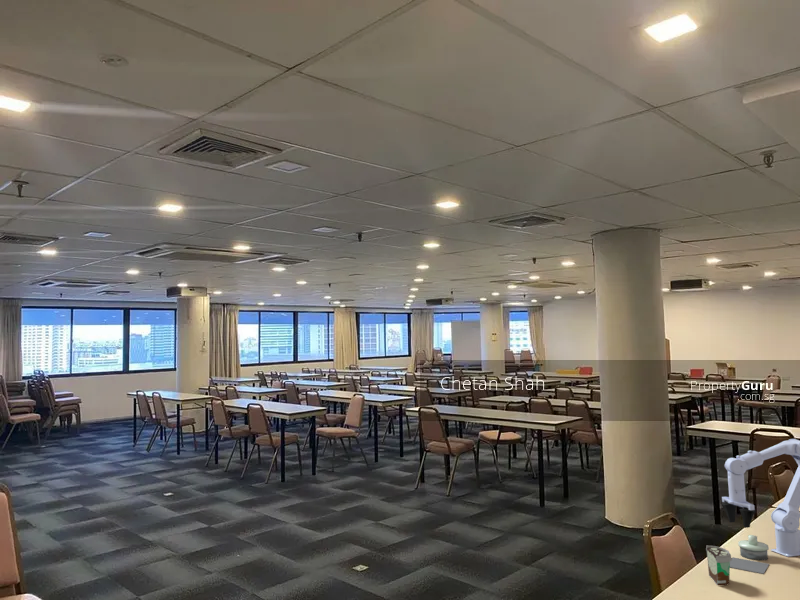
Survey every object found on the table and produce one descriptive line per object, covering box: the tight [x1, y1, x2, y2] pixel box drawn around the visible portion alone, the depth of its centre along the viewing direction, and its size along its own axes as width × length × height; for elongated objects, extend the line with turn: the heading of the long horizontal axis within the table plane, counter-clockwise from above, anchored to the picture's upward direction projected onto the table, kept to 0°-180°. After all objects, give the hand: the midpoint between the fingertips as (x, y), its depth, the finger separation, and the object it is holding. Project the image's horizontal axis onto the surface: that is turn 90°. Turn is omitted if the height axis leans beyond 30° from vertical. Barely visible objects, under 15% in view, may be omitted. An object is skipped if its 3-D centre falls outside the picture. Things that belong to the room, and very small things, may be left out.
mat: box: [730, 556, 770, 575], centre depth 217 cm, size 12×12×1 cm
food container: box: [705, 545, 732, 586], centre depth 203 cm, size 12×6×10 cm, turn 168°
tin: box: [739, 547, 769, 561], centre depth 227 cm, size 9×9×4 cm
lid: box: [737, 534, 769, 552], centre depth 227 cm, size 10×10×4 cm
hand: (739, 524), depth 233 cm, fingers open, 7 cm apart
